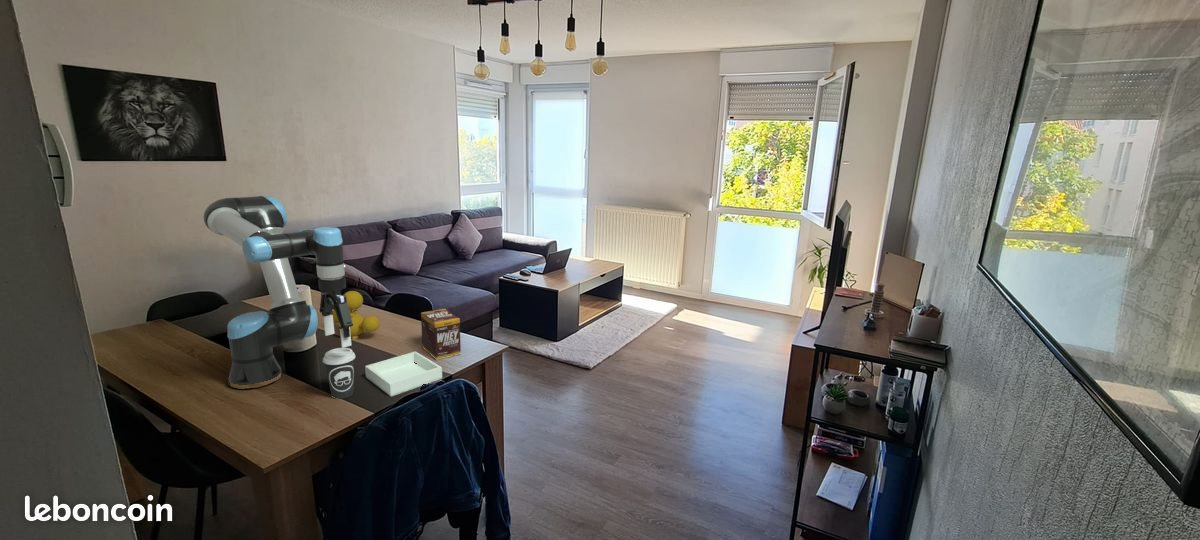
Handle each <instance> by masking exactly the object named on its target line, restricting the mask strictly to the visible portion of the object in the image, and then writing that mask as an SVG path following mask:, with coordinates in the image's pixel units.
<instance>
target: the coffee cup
mask: <svg viewBox="0 0 1200 540" xmlns="http://www.w3.org/2000/svg"><path fill="white" fill-rule="evenodd" d="M355 359H356V354H355V352H354V350H353V349H352V348H350V347H349V348H348V347H344V348H342V347H337V348H333V349H330V350H327V351H326V352H325V354H324V356H323V357H322V363H323V364H324V367H325V371H326V376H327V380H328V385H329V390H330V394H331V397H332V396H333V397H335V398H338V399H337V400H342V399H346V398H349V397H351V396H352V395H353V394H354V392H355V391H354V387H355V386H354V382H355V381H354V380H355V379H354V378H355V377H354V375H355V370H354V369H355ZM333 397H332V398H333ZM335 398H334V399H335Z"/></svg>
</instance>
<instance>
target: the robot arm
mask: <svg viewBox="0 0 1200 540" xmlns="http://www.w3.org/2000/svg"><path fill="white" fill-rule="evenodd" d="M202 217H203V223H204V224H205V226H206V227H207V228H208V229H209V231H211V233H212V232H213V234H216V235H218V236H225V237H226V238H228V239H230V241H233V242H234V243H236V244H238V246H239V245H240V246H241V249H242V253H243V255H244V257H245V258H246V259H245V260H247V261H248V262H249V263H250V262H251V263H259V264H260V268H261V270H262V274H263V278H264V280H265V284H266V287H267V290H268V293H269V297H270V300H271V305H270V307H269V308H268V311H269V313H268V312H267V311H264V310H258V311H249V312H246V313H242V314H239V315H237V316H235V317H233V318H232V319H230V320H229V322H228V323H227V335H226V336H227V338H228V343H229V350H230V357H231V366H230V370H229V375H228V380H229V381H228V380H227V381H228V383H229V382H230V383H233V384H238V385H247V384H255V383H260V382H264V381H268V380H271V379H273V378H275V377H277V376H278V375H279V374H280V373H282V374H283V372H282V368H281V366H280V364H279V362H278V361H277V359H276V357H275V355H274V351H273V350H274V349H273V348H275V347H279V346H282V345H286V344H289V343H293V342H297V341H303V340H304V339H307V338H310V337H313V335H315V334H316V332H317V330H318V325H319V317H318V313H317V311H316V308H315V307H314V306H313V305H311V304H307V301H306V299H304V298H302V297H301V296H300V293H299V291H298V287H297V284H296V280H295V277H294V274H293V271H292V268H291V265H290V262H289V258H296V257H302V256H309V255H311V256H312V255H313V256H315V260H316V275H317V277H318V280H317V281H318V289H319V290H320V302H319V303H320V304H319V312H320V314H321V316H322V321H323V328H324V329H323V330H324V336H325V337H327V336H330V335H331V336H332V335H334V334H335V326H334V325H335V324H334V321H333V315H331V314H334V313H333V310H335V312H336V314H337V317H338V320H339V323H340V325H341V326H340V327H339V326H338V330H339V333H340V343H341V344H340V346H341V348H348V347H350V346H351V347H352V339H351V338H352V337H351V334H350V327H351V326H353V323H352V319H351V315H350V312H349V311H350V310H349V308H348V305H347V299H346V295H344V294H343V295H344V296H343V295H342V290H345V289H346V288H347V283H346V281H347V279H346V277H345V275H346V274H345V273H346V272H345V268H346V265H345V262H344V261H345V260H344V258H345V257H344V248H343V246H344V245H343V237H342V231H341V229H339V227H333V226H332V227H331V226H327V227H325V226H323V227H317V228H315V229H306V228H304V229H300V230H298V231H295V232H294V231H293V232H287V233H283V232H284V231H285V228H284V227H286V226H287V223H288V214H287V211H286V209H285V206H284V205H283V203H282V202H281V201H280V200H279V198H277V197H274V196H271V195H269V196H265V195H258V196H241V197H225V198H220V199H217V200H215V201H213V202H211V203H210V204H209V205H208V206H207V207H206V209H204V212H203V216H202ZM339 323H338V324H339Z"/></svg>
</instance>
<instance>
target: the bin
mask: <svg viewBox="0 0 1200 540" xmlns="http://www.w3.org/2000/svg"><path fill="white" fill-rule="evenodd" d="M414 362H415V363H417V364H415V363H414ZM364 367H365V368H364V369H365V378H366V379H367V380H368V381H370V382H371V383H373V384H374V385H375V386H376V387H378V388H379V390H382V391H383V392H384V393H386V394H387V395H388V396H390V397H394V396H396V395H401V394H403V393H405V392H406V393H407V392H408V391H412V390H414V389H417V388H420V387H423V386H424V385H423V384H426V385H428V383H429V384H431V383H434V382H436V381H439V380H442V379H443V367H442V366H440V365H439V364H437V363H436V362H434V361H432V360H430V359H429V358H427V357H425V356H424V355H422V354H421V353H418V352H417V351H412V352H408V353H406V354H405V353H404V354H402V355H398V356H394V357H391V358H388V359H385V360H381V361H378V362H375V363H371V364H367V365H365V366H364ZM422 385H423V386H422Z"/></svg>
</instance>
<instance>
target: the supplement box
mask: <svg viewBox="0 0 1200 540" xmlns="http://www.w3.org/2000/svg"><path fill="white" fill-rule="evenodd" d="M420 318H421V319H420V320H421V322H420V323H421V325H420V326H421V345H422V346H423V347H424V348H425V349H426V350H427V351H428V352H429V353H431V354H432V355H433V356H434V357H435V358H436V359H437V358H442V357H447V356H451V355H455V354H459V353H461V354H462V352H461V351H462V349H461V347H462V346H461V318H459V316H456V315H455V314H454V313H452V312H451V311H449V310H448V309H446V308H441V309H435V310H429V311H424V312H420ZM426 350H425V351H426ZM427 351H426V352H427ZM428 352H427V353H428ZM429 353H428V354H429Z"/></svg>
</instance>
